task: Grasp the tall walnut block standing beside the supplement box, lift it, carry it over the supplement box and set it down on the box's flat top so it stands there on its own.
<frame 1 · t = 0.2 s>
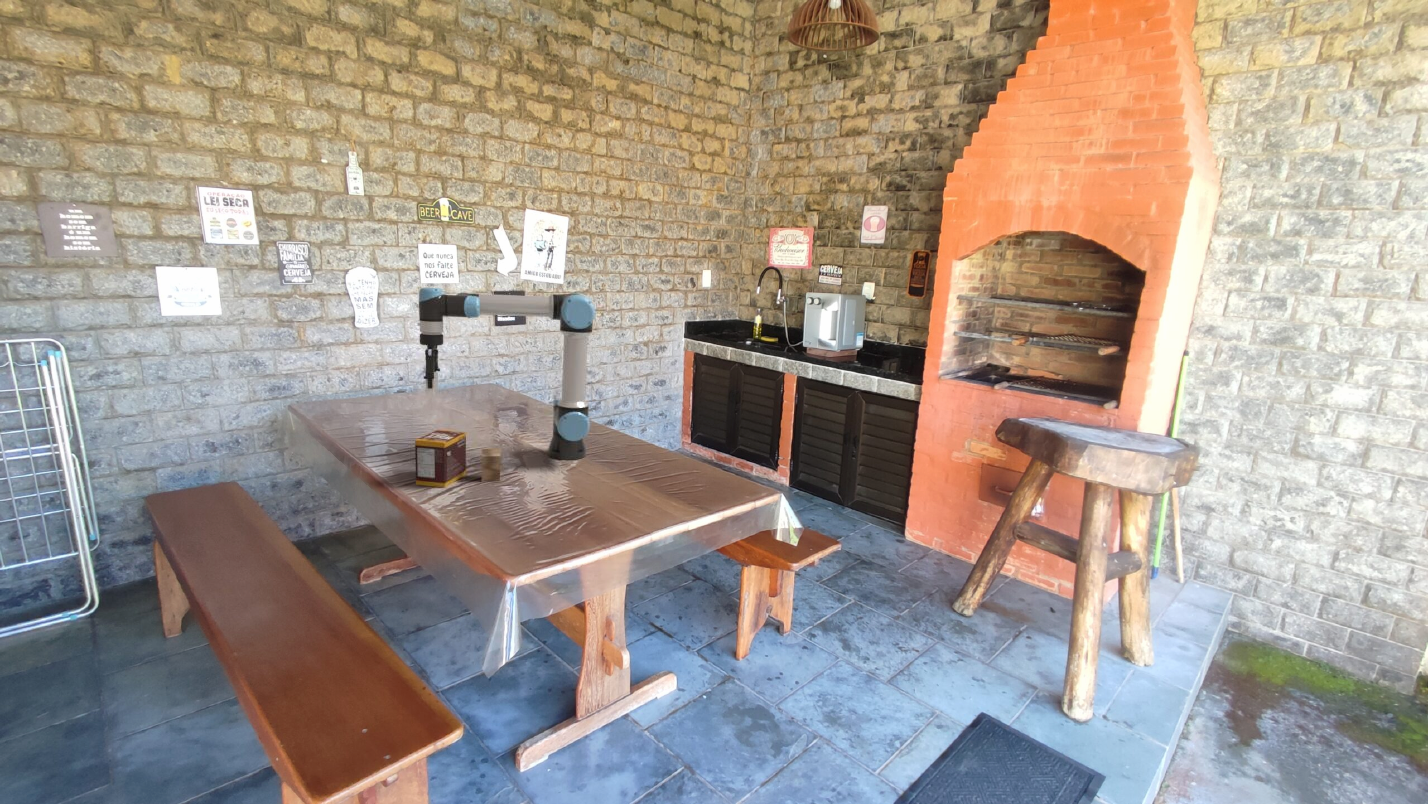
hand: (432, 393, 230), 28 cm above the table, fingers open, 13 cm apart
supplement box: (441, 479, 225), on the table
walnut block: (490, 478, 229), on the table
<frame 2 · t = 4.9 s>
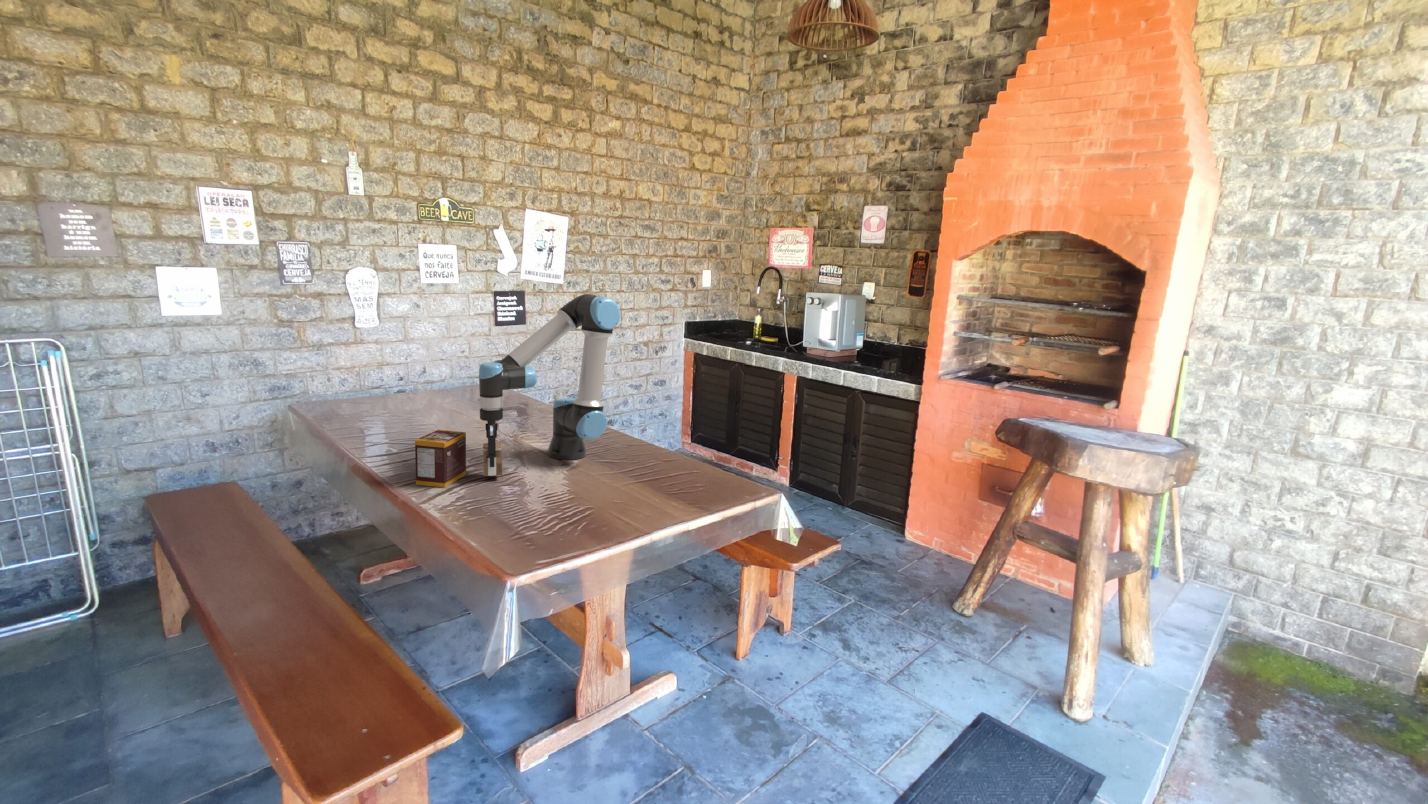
hand: (492, 471, 229), 2 cm above the table, fingers closed on walnut block, 6 cm apart
walnut block: (492, 472, 229), point 2 cm above the table, touching gripper
everything else where it was.
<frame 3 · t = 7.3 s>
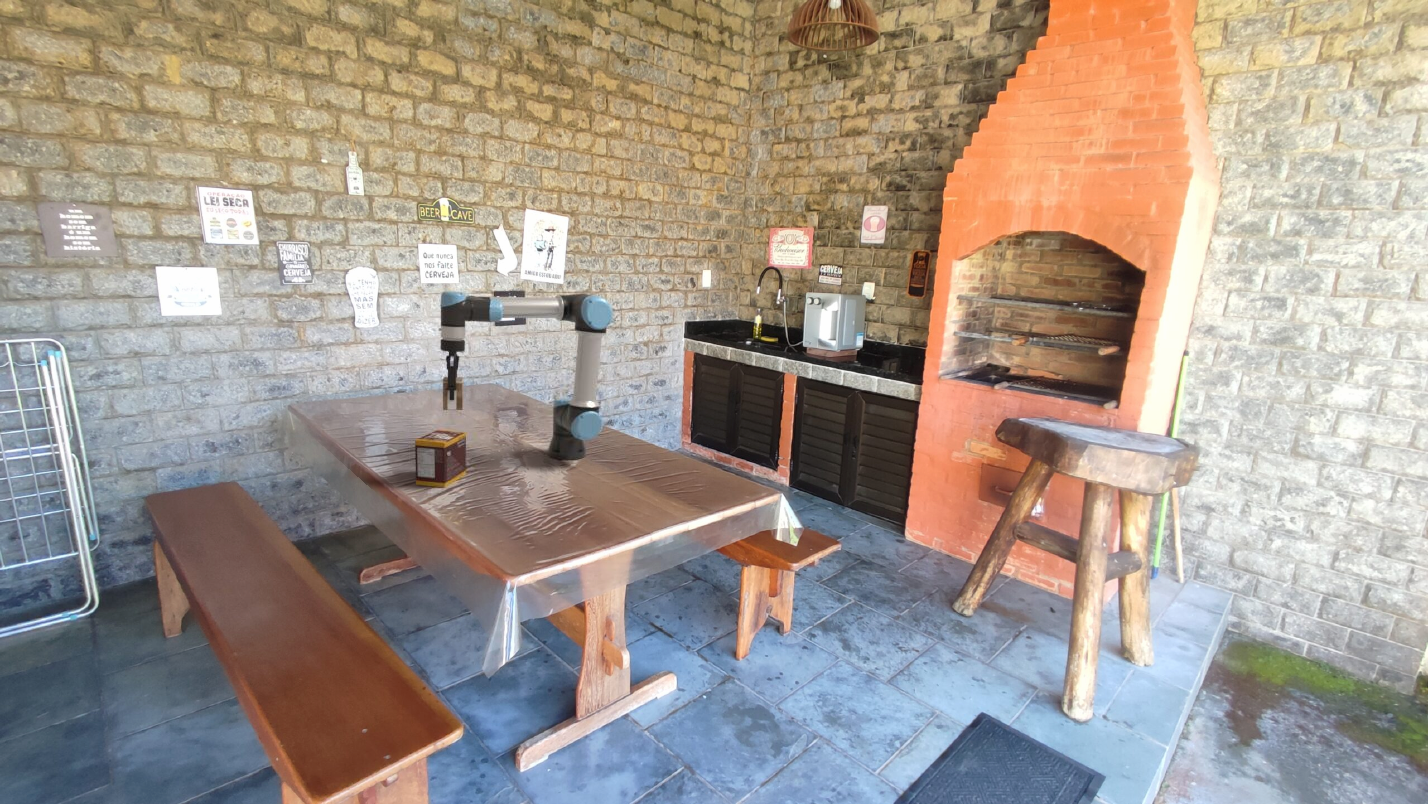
hand: (452, 407, 221), 26 cm above the table, fingers closed on walnut block, 6 cm apart
walnut block: (453, 408, 221), point 25 cm above the table, touching gripper
everything else where it was.
when the fingers open (18 cm above the table, at t = 9.9 s): walnut block drops 2 cm, resting on supplement box.
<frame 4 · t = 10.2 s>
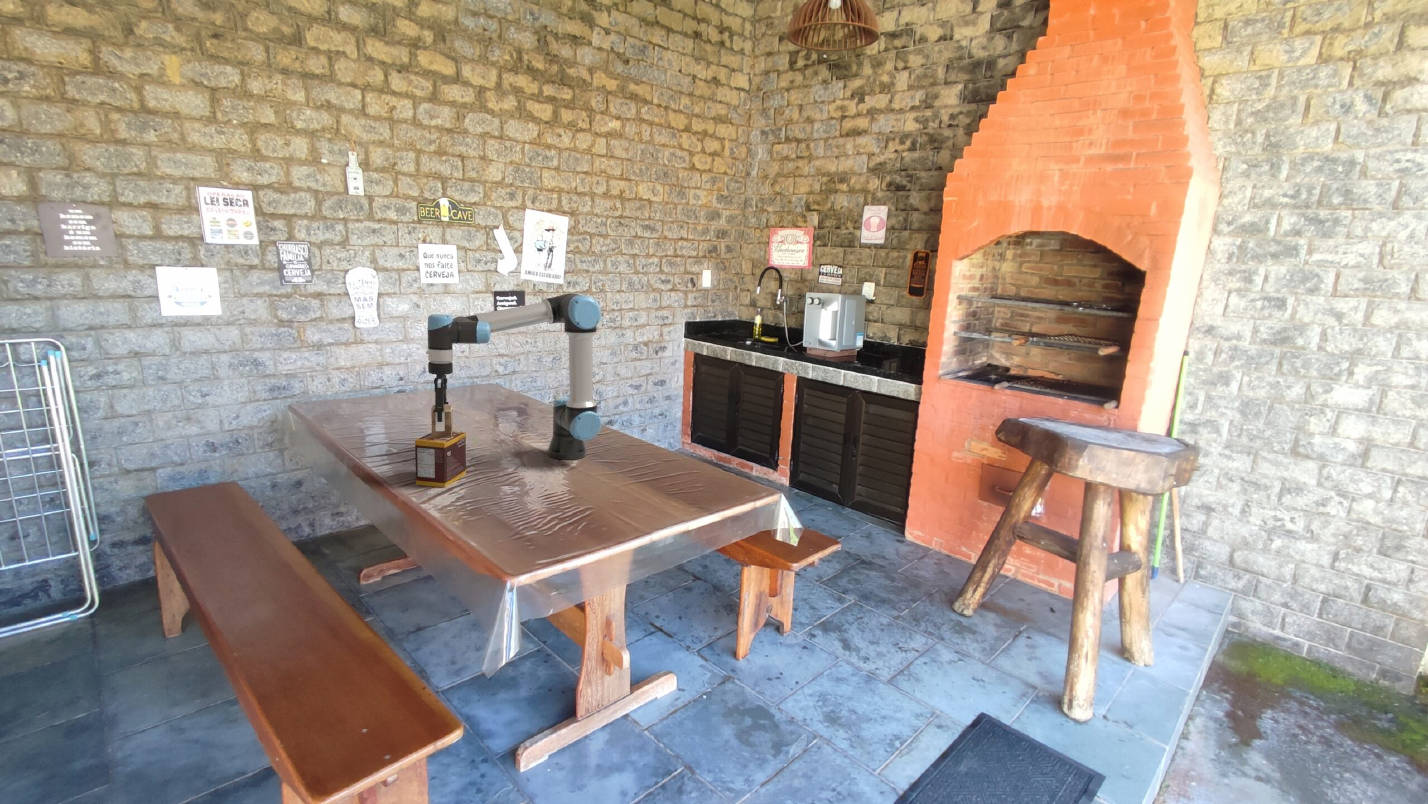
hand: (441, 427, 221), 19 cm above the table, fingers open, 9 cm apart
supplement box: (441, 479, 225), on the table, touching walnut block
walnut block: (442, 435, 222), point 15 cm above the table, touching supplement box
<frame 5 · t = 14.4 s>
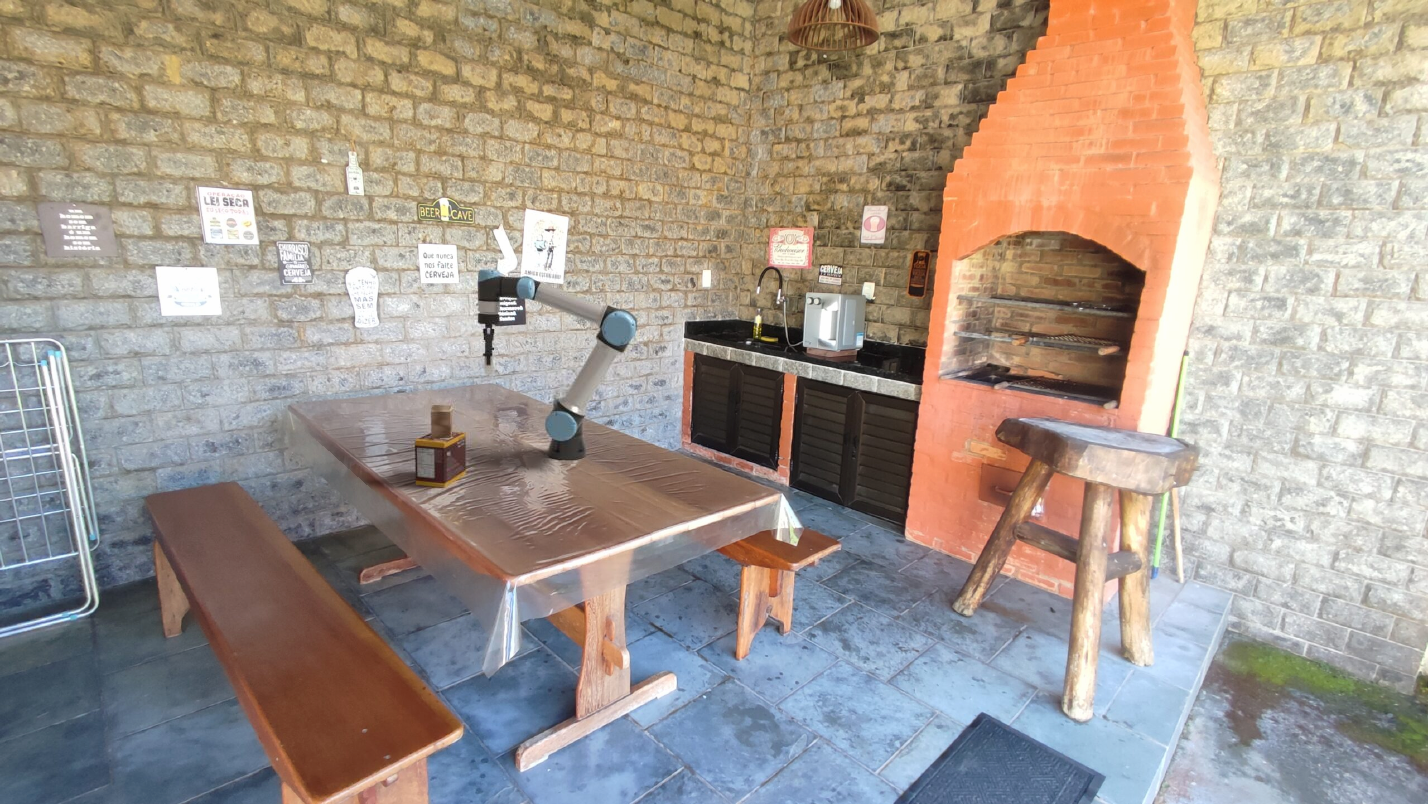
hand: (488, 370, 241), 35 cm above the table, fingers open, 13 cm apart
nothing on the table moved.
at the end: walnut block inside the target area (0.2 cm from its centre), point 15.5 cm above the table; walnut block tilted 0°; walnut block touching supplement box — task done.
